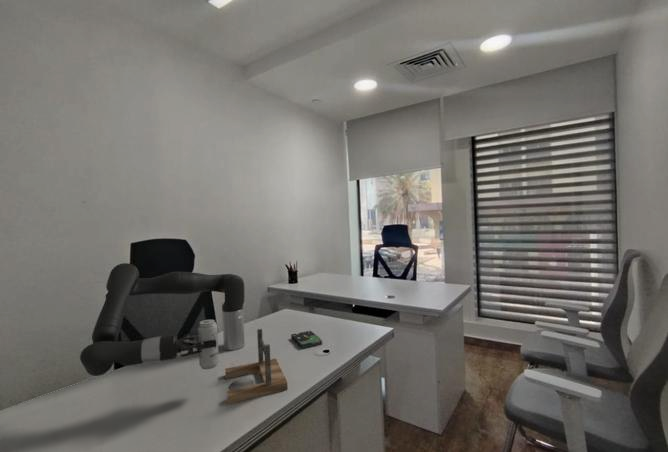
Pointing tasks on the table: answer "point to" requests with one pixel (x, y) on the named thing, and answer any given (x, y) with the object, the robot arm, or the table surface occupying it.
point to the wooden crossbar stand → (268, 371)
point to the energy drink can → (206, 333)
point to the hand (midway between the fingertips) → (216, 339)
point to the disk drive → (306, 339)
